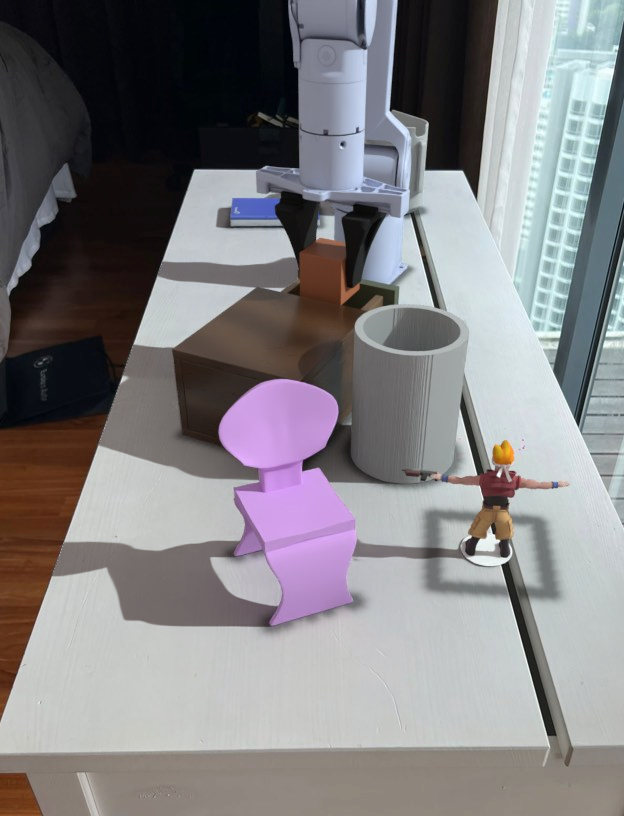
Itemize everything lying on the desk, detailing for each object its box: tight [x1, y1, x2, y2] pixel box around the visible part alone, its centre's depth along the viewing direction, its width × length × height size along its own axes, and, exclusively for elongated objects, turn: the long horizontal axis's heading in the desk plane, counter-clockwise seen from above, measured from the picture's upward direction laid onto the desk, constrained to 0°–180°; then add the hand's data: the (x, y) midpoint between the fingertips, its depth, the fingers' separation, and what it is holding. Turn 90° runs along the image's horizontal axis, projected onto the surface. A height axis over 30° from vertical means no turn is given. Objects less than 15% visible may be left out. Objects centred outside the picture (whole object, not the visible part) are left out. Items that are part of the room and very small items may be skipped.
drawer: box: [280, 269, 400, 311], centre depth 85 cm, size 18×11×7 cm, turn 155°
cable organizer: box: [364, 109, 429, 215], centre depth 121 cm, size 7×12×12 cm, turn 38°
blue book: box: [229, 197, 321, 227], centre depth 120 cm, size 2×8×12 cm
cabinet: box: [171, 286, 368, 468], centre depth 77 cm, size 15×12×9 cm
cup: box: [350, 303, 470, 485], centre depth 71 cm, size 9×9×12 cm
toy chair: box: [218, 379, 358, 627], centre depth 57 cm, size 8×9×15 cm
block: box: [300, 237, 360, 305], centre depth 81 cm, size 4×4×4 cm
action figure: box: [402, 439, 571, 567], centre depth 62 cm, size 12×3×9 cm, turn 86°
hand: (330, 279), depth 81 cm, fingers closed on block, 4 cm apart
